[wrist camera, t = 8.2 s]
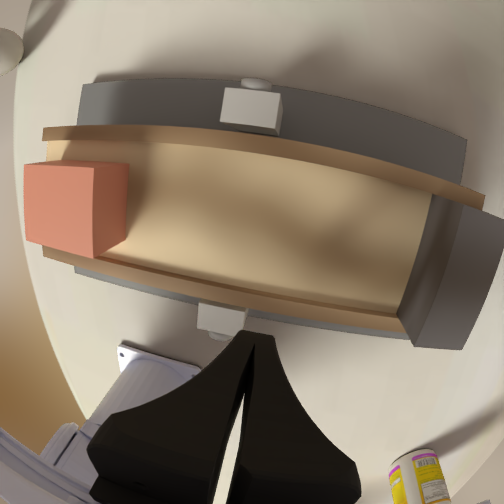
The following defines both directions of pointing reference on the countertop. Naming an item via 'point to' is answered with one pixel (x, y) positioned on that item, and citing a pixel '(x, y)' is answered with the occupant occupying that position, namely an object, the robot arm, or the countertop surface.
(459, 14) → the countertop surface
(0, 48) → the donut
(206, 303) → the tilt stand
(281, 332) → the countertop surface
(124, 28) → the countertop surface
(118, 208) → the block
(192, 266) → the beam
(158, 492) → the robot arm
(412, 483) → the supplement bottle
